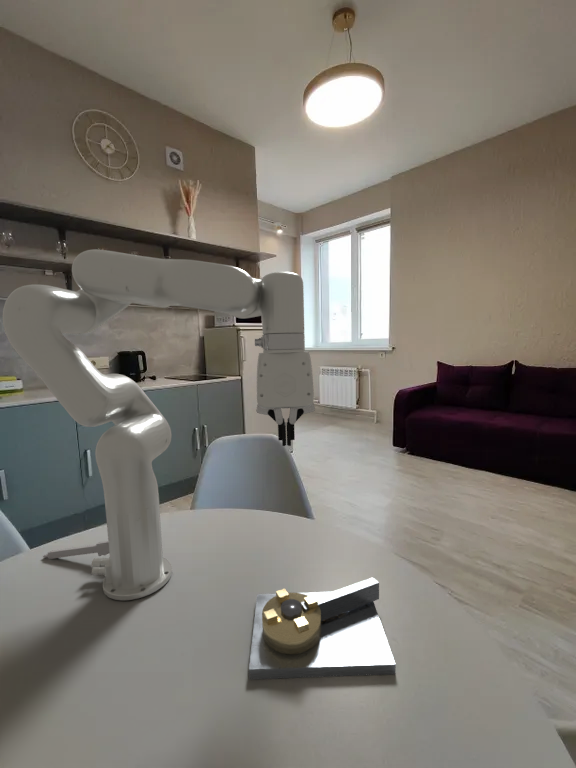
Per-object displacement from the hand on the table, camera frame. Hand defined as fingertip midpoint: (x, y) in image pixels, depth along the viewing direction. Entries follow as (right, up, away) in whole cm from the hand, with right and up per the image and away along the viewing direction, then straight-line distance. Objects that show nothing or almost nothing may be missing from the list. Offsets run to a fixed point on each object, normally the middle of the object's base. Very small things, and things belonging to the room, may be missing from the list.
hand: (286, 443), depth 67 cm
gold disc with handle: (+6, -26, -9) cm, 28 cm away
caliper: (-44, -27, +11) cm, 53 cm away
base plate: (+5, -28, -10) cm, 30 cm away
